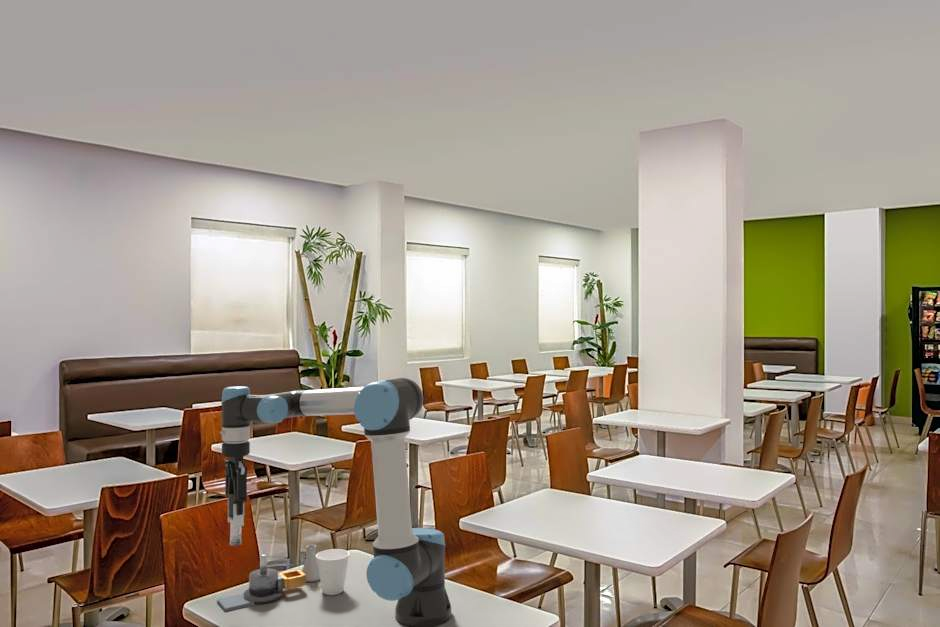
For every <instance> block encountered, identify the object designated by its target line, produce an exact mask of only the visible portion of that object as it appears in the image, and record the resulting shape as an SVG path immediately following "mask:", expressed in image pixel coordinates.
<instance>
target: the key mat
mask: <svg viewBox="0 0 940 627" xmlns="http://www.w3.org/2000/svg"><path fill="white" fill-rule="evenodd" d="M216 602H217V603H218V605H219V606H220V607H221V608H222V609H223V611H224V612H228V611H232V610H237V609H241V608H246V607H249V606H255V604H254V601H248V600H246V599H245V598H244V592H243V593H239V594H235V595H231V596H230V595H229V596H225V597H221V598H217V601H216Z"/></svg>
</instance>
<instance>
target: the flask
mask: <svg viewBox="0 0 940 627" xmlns="http://www.w3.org/2000/svg"><path fill="white" fill-rule="evenodd" d="M305 549H306V555H305V560H304V564H303V566H302V569H301V571H302V572H303V573H304V574H305V575H306V583H307V582H309V583H311V582H312V583H313V582H318V581H321V580H320V574H319V569H318V563H317V558H316V554H317V553H316V549H317V544H308V545H306V546H305Z"/></svg>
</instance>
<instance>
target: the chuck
mask: <svg viewBox="0 0 940 627" xmlns="http://www.w3.org/2000/svg"><path fill="white" fill-rule="evenodd" d="M306 585H307V582H306V575H305V574H304V573H303V572H302V569H301V570H300V569H292V570H287V571H282V572H281V573H279V571H278V569H274V568H269V567H268V554H266V553H262V554H260V555H259V569H255V570H252V571H251V572H249V574H248V589H249V593H250V594H251V595H254V596H266V595H270V594H273V593H275V592H276V591H277V590H278V589H282V588H283V591H285V590H291V589H297V588H301V587H304V586H306Z"/></svg>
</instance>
